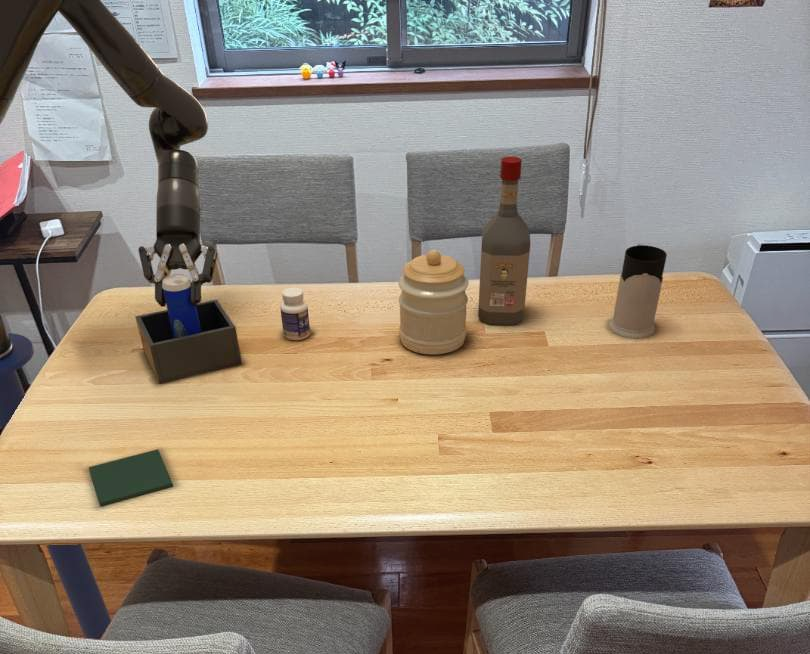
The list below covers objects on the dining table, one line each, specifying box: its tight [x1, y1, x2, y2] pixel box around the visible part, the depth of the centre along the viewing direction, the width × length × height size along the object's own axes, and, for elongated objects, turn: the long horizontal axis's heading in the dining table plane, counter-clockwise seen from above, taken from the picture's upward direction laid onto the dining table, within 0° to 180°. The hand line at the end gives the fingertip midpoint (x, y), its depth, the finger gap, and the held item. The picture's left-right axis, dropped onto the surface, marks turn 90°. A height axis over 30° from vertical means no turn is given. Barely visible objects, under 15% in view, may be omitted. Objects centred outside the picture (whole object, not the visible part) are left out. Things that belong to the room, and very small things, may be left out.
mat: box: [88, 448, 174, 507], centre depth 126 cm, size 11×10×1 cm
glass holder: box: [609, 242, 668, 339], centre depth 157 cm, size 9×14×15 cm, turn 173°
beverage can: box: [162, 273, 202, 338], centre depth 148 cm, size 5×5×15 cm
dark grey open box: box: [135, 299, 243, 384], centre depth 151 cm, size 16×13×8 cm
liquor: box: [477, 156, 531, 326], centre depth 155 cm, size 9×9×30 cm
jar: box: [397, 249, 469, 355], centre depth 152 cm, size 13×13×18 cm
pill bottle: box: [279, 287, 311, 341], centre depth 157 cm, size 5×5×9 cm
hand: (178, 304), depth 144 cm, fingers closed on beverage can, 5 cm apart
